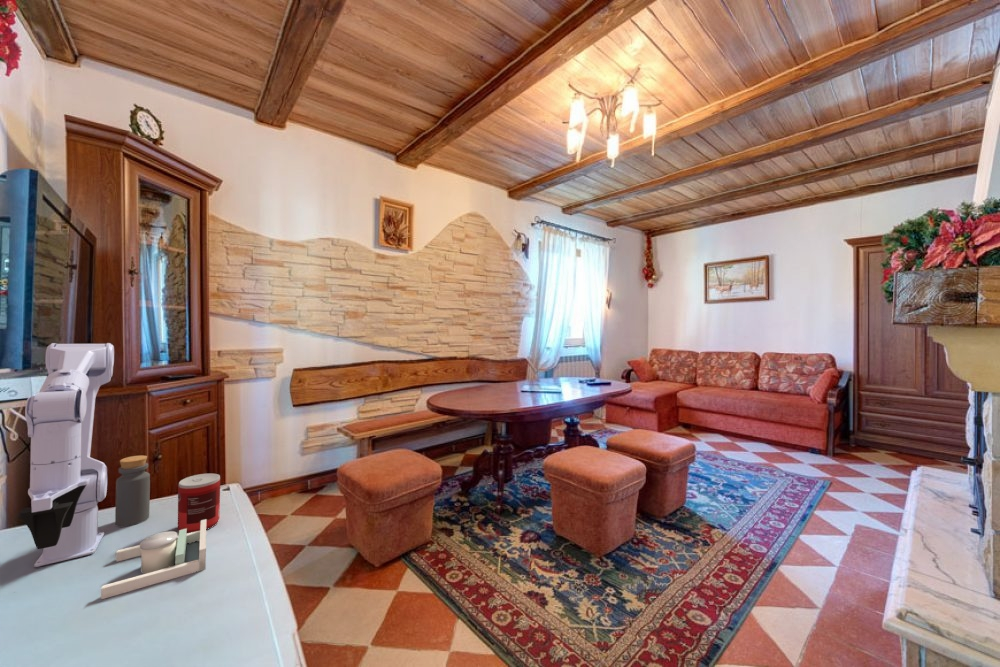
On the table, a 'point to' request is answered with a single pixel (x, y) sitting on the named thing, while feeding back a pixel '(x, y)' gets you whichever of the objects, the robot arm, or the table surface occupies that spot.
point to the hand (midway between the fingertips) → (54, 536)
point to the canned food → (198, 501)
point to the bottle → (132, 492)
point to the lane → (160, 574)
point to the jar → (158, 551)
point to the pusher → (181, 547)
